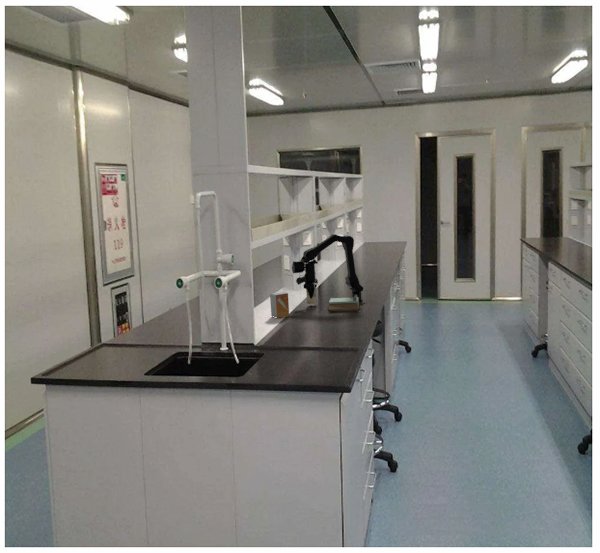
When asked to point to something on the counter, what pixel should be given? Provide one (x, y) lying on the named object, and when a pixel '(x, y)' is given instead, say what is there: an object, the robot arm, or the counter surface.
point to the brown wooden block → (312, 301)
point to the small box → (279, 304)
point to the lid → (344, 300)
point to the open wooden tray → (344, 307)
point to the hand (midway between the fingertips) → (311, 297)
